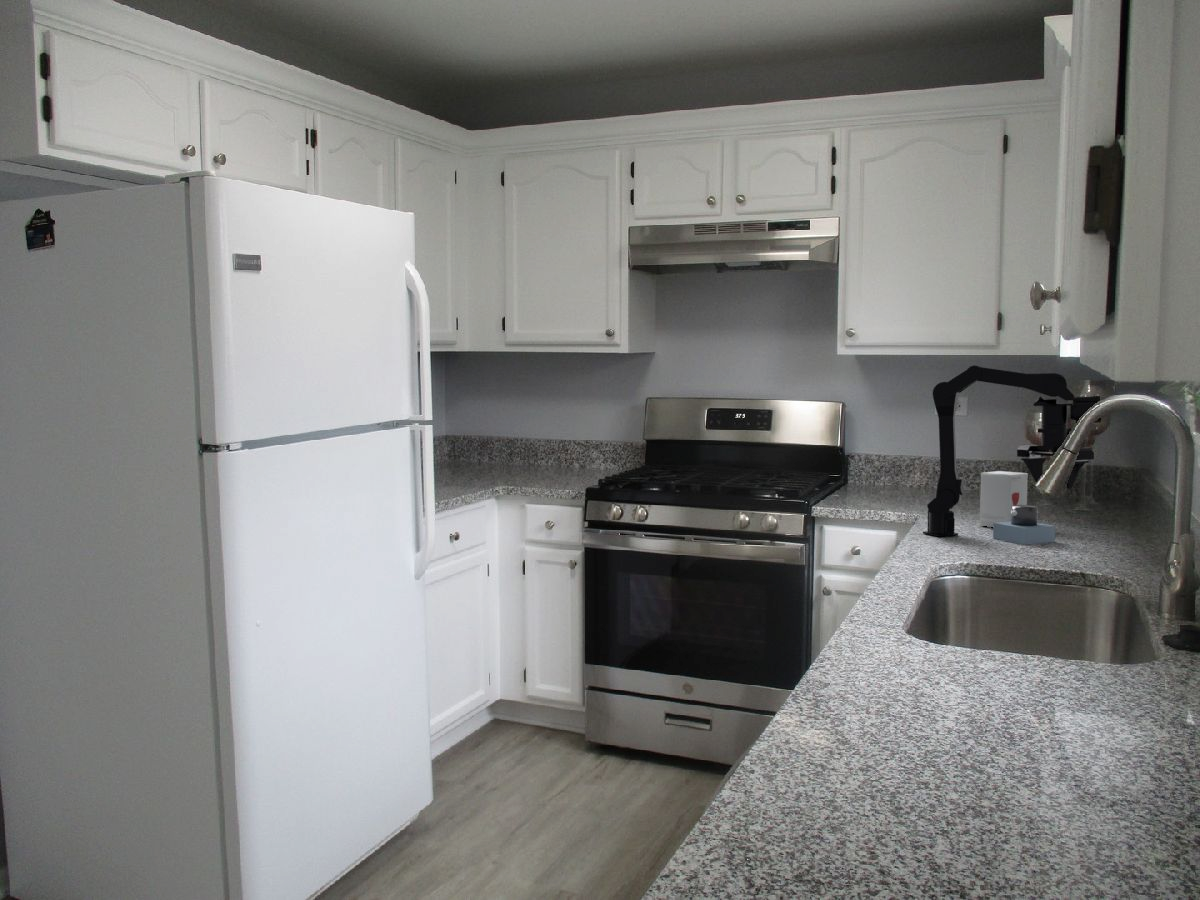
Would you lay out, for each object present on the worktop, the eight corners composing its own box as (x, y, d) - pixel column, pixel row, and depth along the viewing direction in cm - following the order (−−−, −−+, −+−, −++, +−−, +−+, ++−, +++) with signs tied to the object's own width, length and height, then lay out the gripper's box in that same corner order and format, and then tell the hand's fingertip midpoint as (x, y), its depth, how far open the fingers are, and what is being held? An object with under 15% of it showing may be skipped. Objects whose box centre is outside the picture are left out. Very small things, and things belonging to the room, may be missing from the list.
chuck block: (993, 538, 241) (993, 522, 241) (1023, 535, 245) (1023, 520, 244) (1023, 544, 232) (1024, 528, 231) (1054, 541, 235) (1055, 525, 235)
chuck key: (1020, 541, 234) (1021, 508, 233) (1002, 537, 239) (1002, 506, 239) (1045, 538, 237) (1046, 507, 236) (1026, 535, 242) (1027, 504, 242)
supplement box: (1009, 530, 254) (1010, 474, 253) (978, 526, 261) (979, 472, 260) (1027, 527, 259) (1028, 472, 258) (997, 523, 267) (998, 470, 265)
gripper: (1111, 423, 228) (1110, 488, 229) (1048, 422, 245) (1048, 482, 246) (1076, 425, 224) (1076, 491, 225) (1015, 424, 241) (1015, 485, 242)
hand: (1054, 487), depth 235 cm, fingers open, 9 cm apart
